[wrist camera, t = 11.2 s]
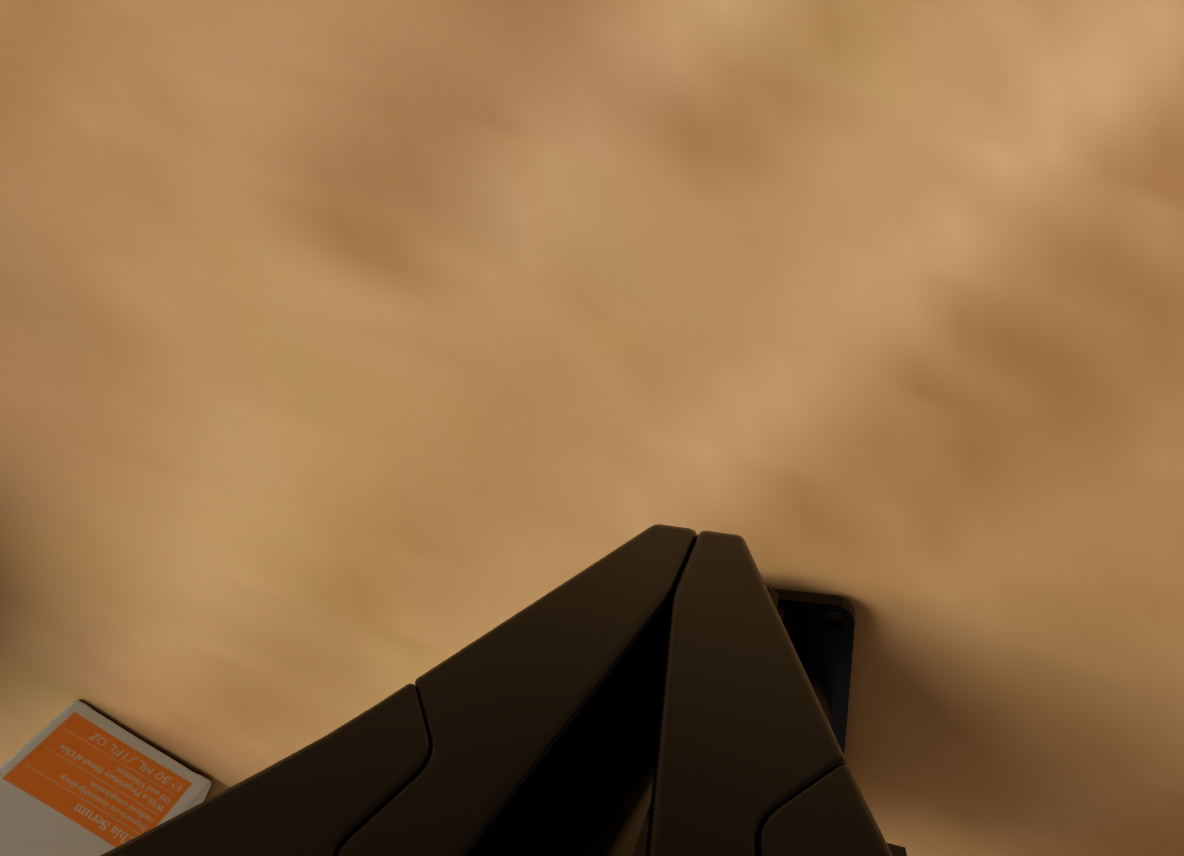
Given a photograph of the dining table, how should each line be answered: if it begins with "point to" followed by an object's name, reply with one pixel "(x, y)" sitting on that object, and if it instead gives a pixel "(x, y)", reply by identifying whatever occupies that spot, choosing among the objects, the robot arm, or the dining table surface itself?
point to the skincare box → (88, 788)
